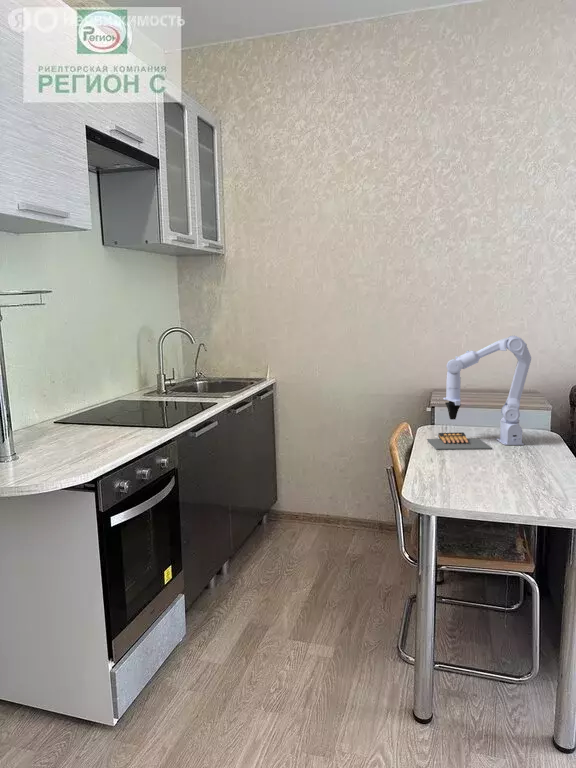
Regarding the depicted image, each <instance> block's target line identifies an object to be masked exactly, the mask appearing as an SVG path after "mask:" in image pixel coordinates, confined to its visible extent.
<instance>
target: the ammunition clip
mask: <svg viewBox="0 0 576 768" xmlns="http://www.w3.org/2000/svg"><path fill="white" fill-rule="evenodd" d="M467 438H468V437H467V436H466V434H465V432H462V431H461V432H438V439H440V440H442V441H443V442H444V443H446V441H447V442H448V443H451V441H452V442H453V443H455V441H456V442H457V443H459V441H461V442H462V443H464V441H465V442H466V443H468V440H467ZM450 440H451V441H450ZM463 440H464V441H463Z"/></svg>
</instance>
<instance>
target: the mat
mask: <svg viewBox="0 0 576 768" xmlns="http://www.w3.org/2000/svg"><path fill="white" fill-rule="evenodd" d="M466 438H467V440H468V443H466V442H465V441H464V440H463V441H464V443H462V442H461V441H459V443H457V442H456V441H455V443H453V442H452V441H451V440H450V441H451V443H448V442H447V441H446V443H444V442H443V441H442V440H440V438H427V439H426V441H427V440H428V441H427V443H429V444H430V445H431V446H432V447H433V448H434V449H435V450H436V451H459V450H460V451H464V450H465V451H467V450H468V451H470V450H471V451H472V450H473V451H475V450H477V451H478V450H479V451H481V450H493V447H492V446H491V445H489V444H488V443H486V442H484V441H483V440H481V438H478V437H477V438H473V437H472V438H469V437H466Z"/></svg>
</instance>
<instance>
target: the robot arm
mask: <svg viewBox="0 0 576 768" xmlns="http://www.w3.org/2000/svg"><path fill="white" fill-rule="evenodd" d="M527 345H528V344H527V343H526V342H525V341H524V339H522V337H519V336H517V335H510V336H508V337H504V338H501V339H499V340H496V341H495V342H491V343H490V344H489V345H487V346H485V347H482V348H481V349H479V350H477V351H476V350H466V351H465V353H463V354H461V355H456V356H455V358H453V359H452V358H451V359H450V360H448V361H447V363H446V370H447V372H446V381H445V382H446V383H445V384H446V386H445V388H446V390H445V391H446V393H445V394H446V395H445V396H446V397H443V398H442V399H443V400H444V401H448V402H445V403H444V404H445V405H446V409H447V412H448V417H449V419H450V420H453V421H454V420H457V419H456V418H457V416H458V412H459V409H460V408H461V406H462V403H461V401H462V400H461V399H462V398H461V382H462V381H461V379H462V377H461V371H462V370H465V369H467V368H469V367H472V366H474V365H477V364H478V363H479V361H480V359H482V358H483V357H486V356H489V355H491V354H493V353H495V352H498V351H505V352H506V351H507V350H508V351H510V353H512V354H513V355H514V357H515V358H516V360H517V362H516V366H515V370H514V373H513V377H512V380H511V384H510V387H509V393H508V395H507V398H506V400H505V402H504V404H503V405H502V407H501V410H500V413H501V415H502V418H501V419H500V424H499V425H500V428H499V429H500V431H499V437H500V438H496V441H498V442H499V443H501V444H503V445H504V446H523V445H525V443H523V428H522V426H520V419H519V418H520V417H521V412H520V406H521V399H522V396H523V395H522V394H523V391H524V387H525V383H526V380H527V376H528V373H529V369H530V365H531V361H532V356H531V354H530V350H529V348H528V346H527Z"/></svg>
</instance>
